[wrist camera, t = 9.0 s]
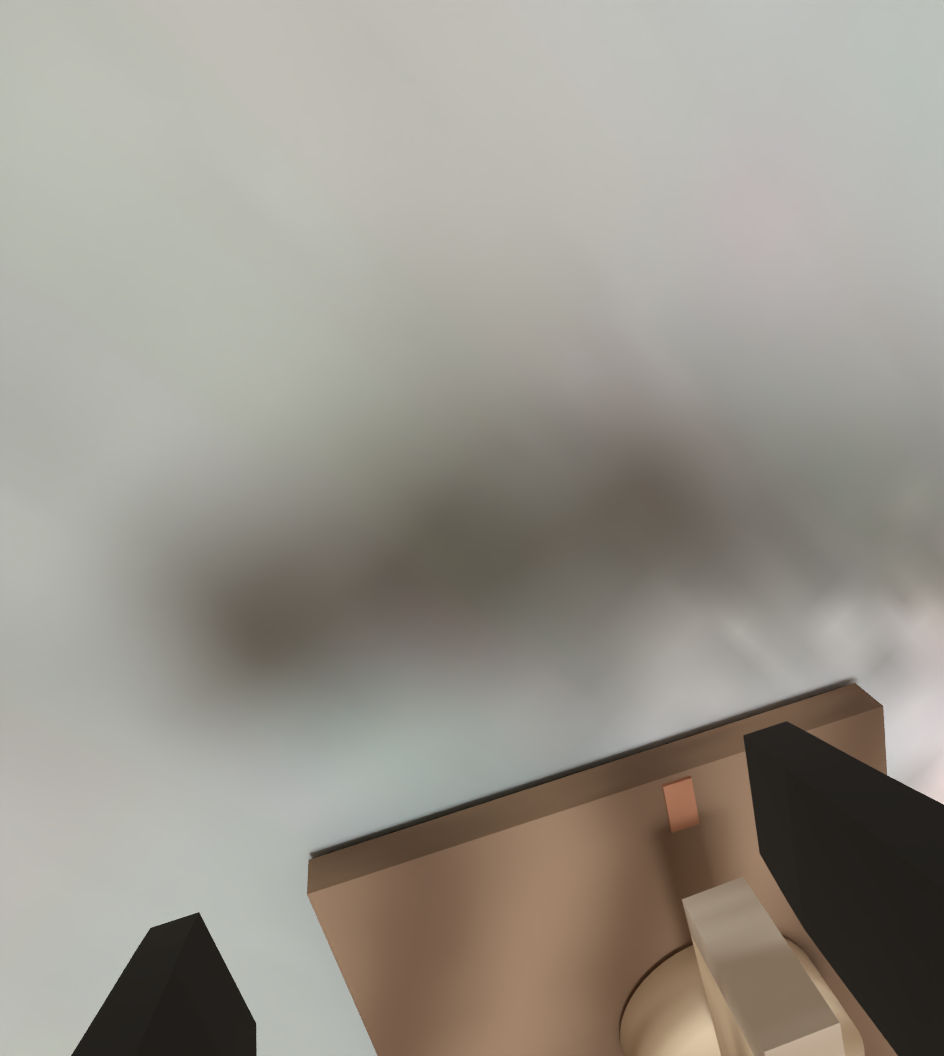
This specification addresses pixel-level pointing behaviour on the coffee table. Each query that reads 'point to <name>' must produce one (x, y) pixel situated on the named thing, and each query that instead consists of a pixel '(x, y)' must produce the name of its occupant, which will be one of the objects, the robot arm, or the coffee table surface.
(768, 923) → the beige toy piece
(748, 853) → the plate
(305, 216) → the coffee table surface
